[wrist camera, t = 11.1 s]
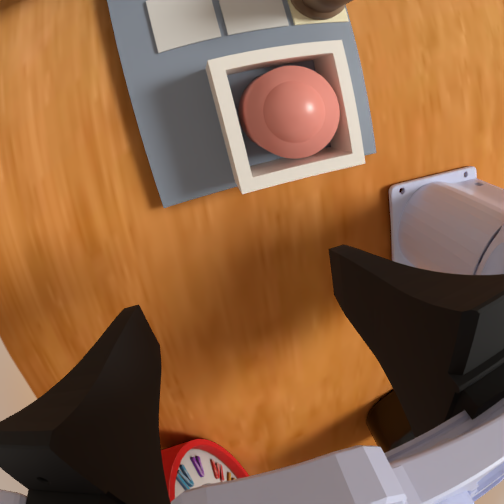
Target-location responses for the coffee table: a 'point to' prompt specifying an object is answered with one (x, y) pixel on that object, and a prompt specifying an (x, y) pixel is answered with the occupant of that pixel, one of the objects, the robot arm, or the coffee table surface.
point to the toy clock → (198, 466)
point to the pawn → (319, 8)
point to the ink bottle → (389, 423)
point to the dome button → (289, 112)
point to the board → (231, 89)
